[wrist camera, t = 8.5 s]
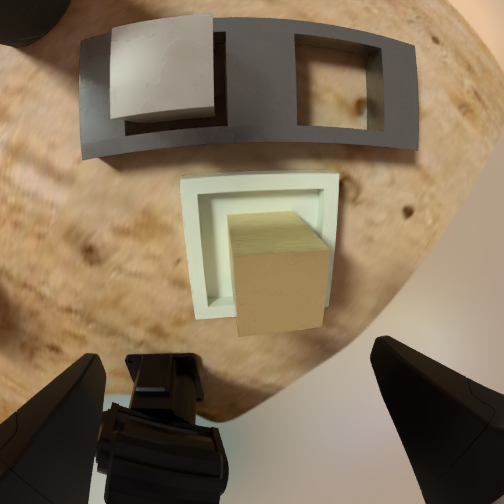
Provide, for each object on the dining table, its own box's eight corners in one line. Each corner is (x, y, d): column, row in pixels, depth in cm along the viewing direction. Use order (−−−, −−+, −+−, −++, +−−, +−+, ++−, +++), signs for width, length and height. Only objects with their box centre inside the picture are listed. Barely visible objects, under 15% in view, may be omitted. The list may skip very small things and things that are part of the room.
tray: (321, 295, 23) (328, 306, 22) (196, 306, 22) (195, 319, 21) (329, 169, 20) (339, 173, 18) (182, 175, 19) (179, 179, 17)
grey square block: (214, 116, 17) (214, 106, 11) (146, 123, 17) (110, 119, 11) (213, 53, 16) (212, 13, 9) (145, 60, 15) (112, 27, 9)
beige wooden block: (292, 210, 20) (329, 249, 14) (291, 270, 22) (322, 326, 15) (226, 214, 19) (233, 256, 13) (230, 275, 21) (238, 336, 15)
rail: (399, 147, 19) (417, 150, 17) (96, 156, 17) (82, 160, 15) (396, 51, 16) (414, 45, 14) (94, 49, 14) (81, 40, 12)
